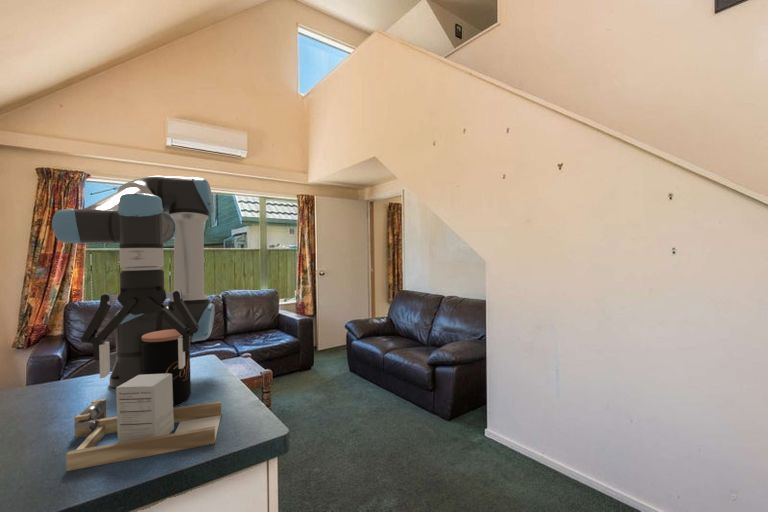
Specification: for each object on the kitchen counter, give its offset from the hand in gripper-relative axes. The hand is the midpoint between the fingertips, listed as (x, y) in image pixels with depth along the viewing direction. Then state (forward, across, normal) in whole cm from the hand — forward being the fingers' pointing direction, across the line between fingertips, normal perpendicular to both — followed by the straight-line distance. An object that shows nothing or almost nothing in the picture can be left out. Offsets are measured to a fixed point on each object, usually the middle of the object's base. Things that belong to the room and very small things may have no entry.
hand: (144, 371), depth 72 cm
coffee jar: (+14, 0, +20) cm, 25 cm away
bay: (+14, +2, 0) cm, 14 cm away
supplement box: (+15, 0, 0) cm, 15 cm away
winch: (+14, -13, +10) cm, 22 cm away
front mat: (+14, +9, 0) cm, 17 cm away
